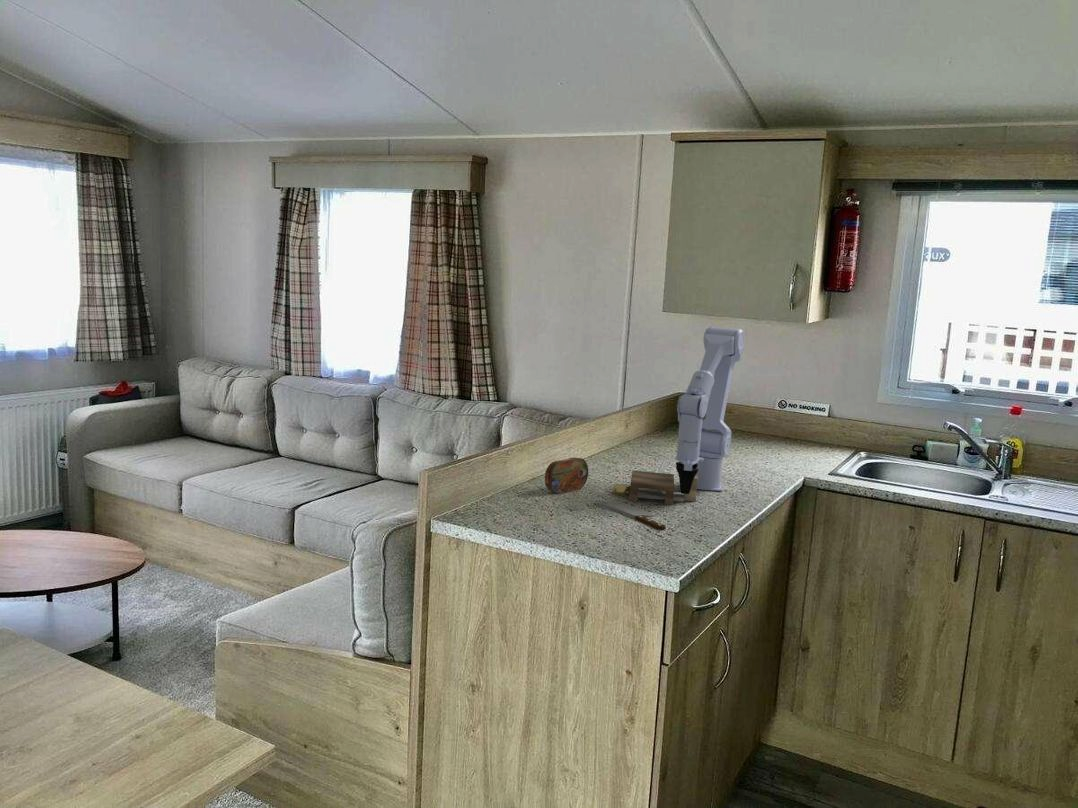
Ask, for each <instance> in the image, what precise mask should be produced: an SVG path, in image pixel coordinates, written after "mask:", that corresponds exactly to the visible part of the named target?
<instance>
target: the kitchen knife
mask: <svg viewBox="0 0 1078 808" xmlns="http://www.w3.org/2000/svg"><path fill="white" fill-rule="evenodd" d="M596 506H597V507H601V508H605V509H608V510H612V511H614V512H617V513H619V514H623V515H624V516H627V517H629V518H631V519H634V520H635V521H638V522H640V523H642V524H644V525H646V526H649V527H651V528H653V529H655V530H658V531H665V530H666V525H665V524H663V523H660V522H657V521H655V520H653V519H650V518H652V517H657V515H656V514H653V513H651V512H649V511H646V510H644V509H641V508H638V507H636V506H633V505H630V504H627V503H624V502H621V501H619V500H596Z"/></svg>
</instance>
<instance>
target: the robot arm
mask: <svg viewBox="0 0 1078 808" xmlns="http://www.w3.org/2000/svg"><path fill="white" fill-rule="evenodd" d="M745 342H746V341H745V332H744V330H743V329H742V328H730V327H729V328H728V327H719V326H718V327H717V326H711V325H709V326H707V328H706V329H705V331H704V334H703V345H704V350H705V352H704V355H703V358H702V362H701V366H700V368H699V370H697V371H695V372H694V373H693V375H692V377H691V379H690V382H689V383H688V384H689V385H688V386H687V389H686V390H685V393H683V394H681V395H680V396H679V398H678V400H677V405H676V412H677V422H678V423H679V424H678V436H677V447H676V449H677V450H676V456H675V460H676V462H675V468H676V471H677V474H678V478H679V491H680V493H682V494H689V492H690V490H691V486H692V482H693V479H694V477H695V476H697V477H698V483H697V490H703V491H713V492H714V491H715V492H723V486H722V484H721V482H722V481H721V480H722V470H723V462H724V461H723V460H724V458H725V457H727V455H728V454H729V453H730V451H731V447H732V430H731V428H730V427H729V426H728V425H727V424H726V423H725V421H724V419H725V415H726V408H727V404H728V399H729V398H728V397H729V394H730V387H731V383H732V378H733V372H734V369H735V368H734V367H735V365H736V363H737V362H738V363H739V361H741V360H742V357H743V353H744V347H745ZM703 418H704V419H703Z"/></svg>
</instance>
